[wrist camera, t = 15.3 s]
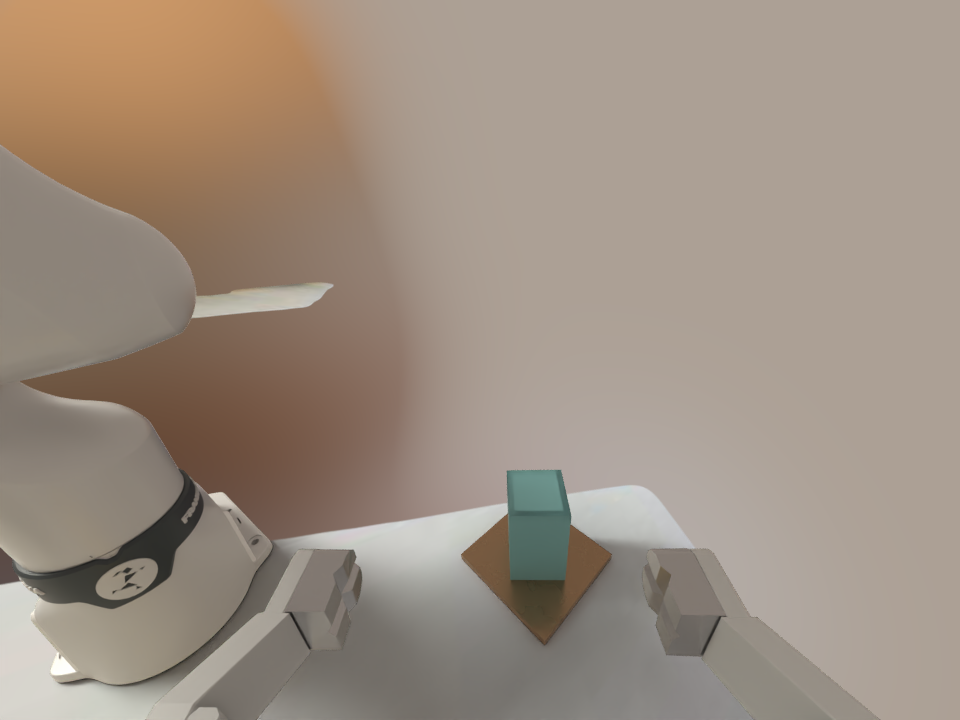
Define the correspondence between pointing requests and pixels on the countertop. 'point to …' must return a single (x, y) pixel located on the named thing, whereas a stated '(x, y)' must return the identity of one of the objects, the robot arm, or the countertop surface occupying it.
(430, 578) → the countertop surface
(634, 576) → the countertop surface
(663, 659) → the countertop surface
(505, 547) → the brown square base plate
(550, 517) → the teal tall prism
